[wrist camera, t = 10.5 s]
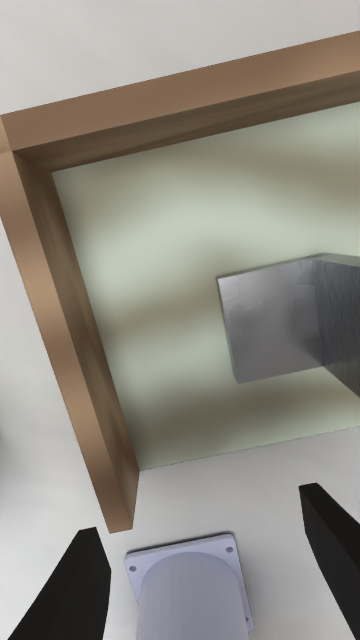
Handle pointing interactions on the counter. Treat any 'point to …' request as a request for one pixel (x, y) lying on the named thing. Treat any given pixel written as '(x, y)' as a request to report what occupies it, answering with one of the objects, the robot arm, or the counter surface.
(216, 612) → the robot arm
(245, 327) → the bracket
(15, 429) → the counter surface
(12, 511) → the counter surface
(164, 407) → the arena
